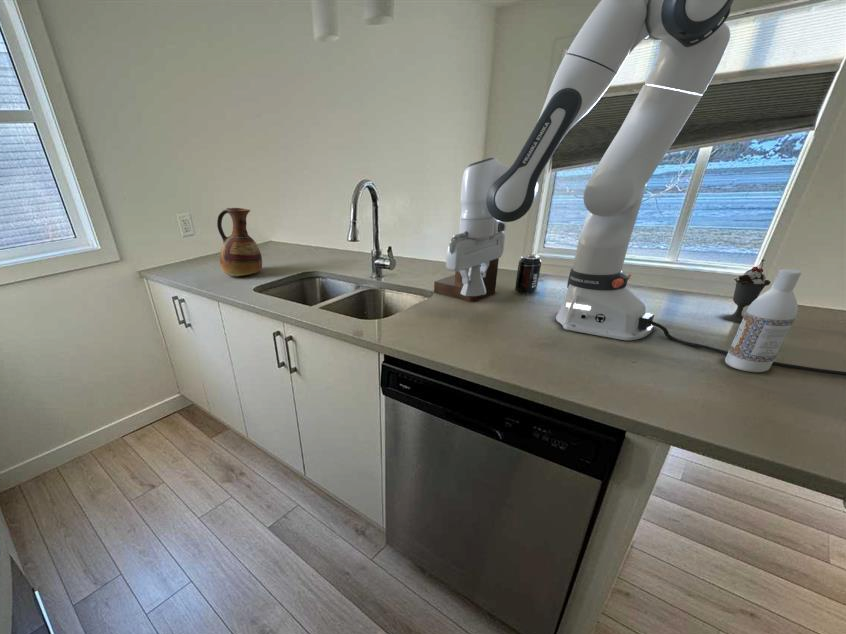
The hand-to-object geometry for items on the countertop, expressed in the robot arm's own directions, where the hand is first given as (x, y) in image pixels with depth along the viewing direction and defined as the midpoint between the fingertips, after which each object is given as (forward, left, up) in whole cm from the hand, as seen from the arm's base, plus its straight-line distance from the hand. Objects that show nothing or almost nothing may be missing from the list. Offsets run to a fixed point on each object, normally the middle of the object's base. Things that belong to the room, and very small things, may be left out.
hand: (474, 280), depth 113 cm
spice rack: (+19, -21, -12) cm, 31 cm away
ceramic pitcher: (+117, +20, -12) cm, 120 cm away
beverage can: (+3, -34, -12) cm, 36 cm away
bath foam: (-58, -17, -12) cm, 61 cm away
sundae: (-49, -46, -12) cm, 68 cm away
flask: (0, 0, -4) cm, 4 cm away
